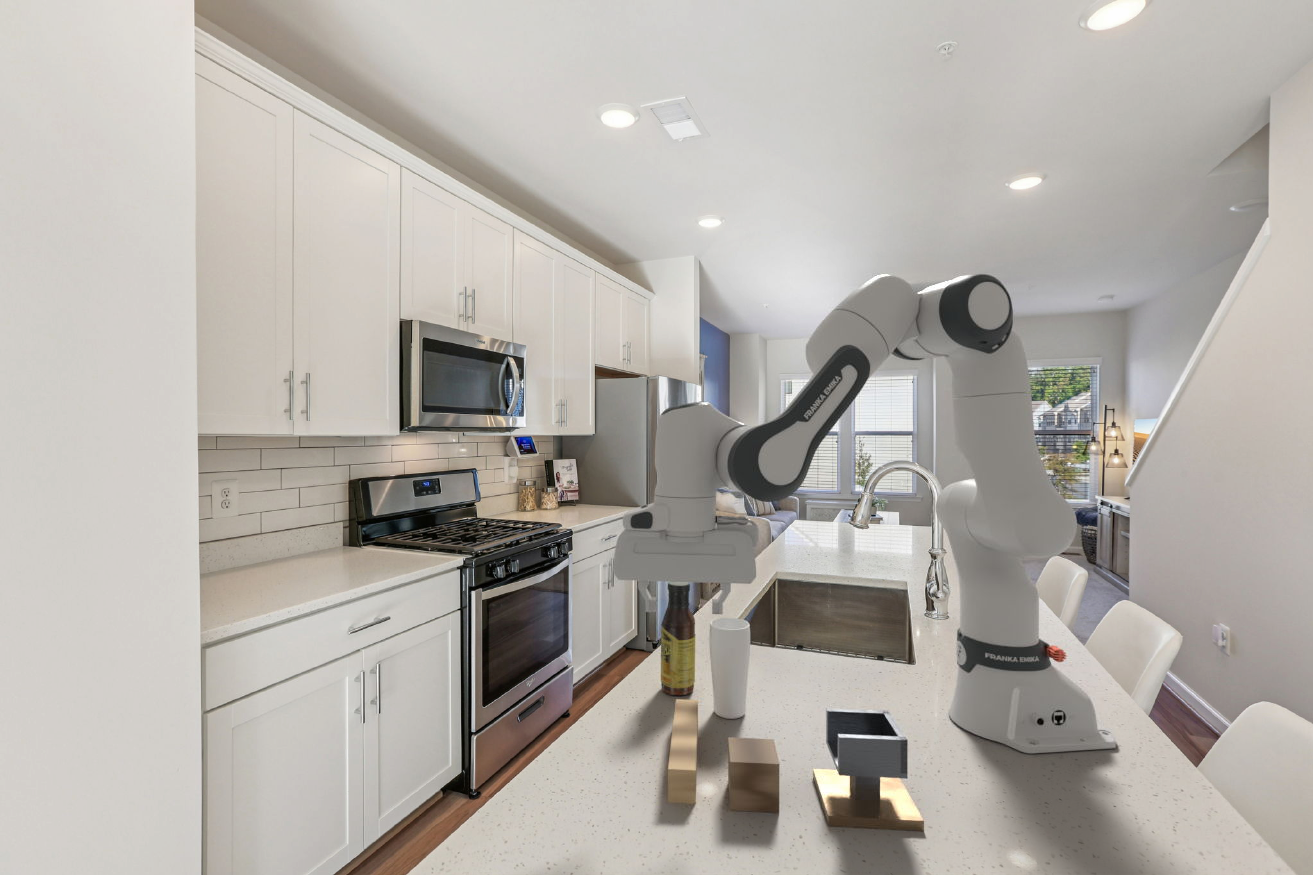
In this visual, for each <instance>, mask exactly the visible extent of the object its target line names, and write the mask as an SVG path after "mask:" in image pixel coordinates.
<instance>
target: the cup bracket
mask: <svg viewBox="0 0 1313 875" xmlns="http://www.w3.org/2000/svg"><path fill="white" fill-rule="evenodd" d="M825 709H826V710H825V711H826V713H825V714H826V715H825V717H826V719H825V726H826V727H825V728H826V729H825V730H826V731H825V738H826V739H825V743H826V746H827V748H828V750H829V753H830V756H831V758H832V761H833V763H834V766H835V768H836V769H827V768H826V769H824V768H823V769H821V768H812V769H813V770H812V778H813V781H814V784H815V788H816V791H817V793H818V794H817V795H818V797H819V801H820V804H821V807H822V811H823V814H824V817H825V820H826V822H827V826H828V827H842V828H857V829H858V828H859V829H861V828H862V829H876V830H877V829H880V830H894V831H895V830H896V831H897V830H898V831H914V832H915V831H916V832H924V831H925V820H924V818H923V816H922V814H921V813H920V811H919V810H918V808H917V806H916V804H915V803H914V801H913V798H912V797H911V796H910V794H909V792H908V790H907V789H906V787H905V785H904V783H903V781H902V780H901V779H904V780H905V779H908V768H909V767H908V760H909V759H908V747H909V746H908V745H909V744H908V738H907V737H906V735H905V734H904V733H903V731H902V730H901V728H900V726H899V725H898V724H897V721H895V719H894V717H893V716H892V715H891V713H890V712H889V710H878V709H877V710H874V709H851V708H848V709H847V708H845V709H844V708H825Z"/></svg>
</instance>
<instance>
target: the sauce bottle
mask: <svg viewBox="0 0 1313 875" xmlns="http://www.w3.org/2000/svg"><path fill="white" fill-rule="evenodd" d="M667 591H668V595H667V596H668V602H667V608H666V610H665V613H664V616H663V619H662V621H661V625H660V626H661V627H660V682H661V690H662V691H663V692H665V693H666V694H668V695H669V696H685V695H689V694H692V692H693V691H694V689H695V688H694V687H695V682H696V679H695V678H696V674H695V673H696V633H695V632H696V619H695V616H694V614H693V612H692V611H691V609H690V602H689V601H690V591H691V582H669V581H667Z"/></svg>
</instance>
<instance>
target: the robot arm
mask: <svg viewBox="0 0 1313 875" xmlns="http://www.w3.org/2000/svg"><path fill="white" fill-rule="evenodd" d="M1013 318H1014V310H1013V304H1012V299H1011V296H1010V294H1009V292H1008V290H1007V289H1006V287H1005V285H1004V284H1003V283H1002V282H1001V281H1000V280H999V279H998V278H997V277H995V276H993V275H990V274H983V273H974V274H966V275H965V274H964V275H961V276H958V277H956V278H954V279H951V280H948V281H944V282H943V281H942V282H941V283H937V284H935V285H930V286H929V287H926V288H925V289H923V290H922V291H919V292H916V290H915V289H914V287H913V286H912V285H911V284H910V283H909V282H907V280H905V279H903V278H901V277H899V276H896V275H893V274H880V275H876V276H874V277H871V279H868V281H865V282H864V283H863V284H862V285H860V286H859V287H858V288H856V289H854V290H853V291H852V292H851V293H850V294H848V295H847V296H846V297H845V298H844V299H843V300H841V302H840V303H838V304H837V305H836V306H835V307H834V308H833V310H831V311H830V312H829V313H828V315H826V316H825V318H824V319H823V320H822V321H821V322H820V323H819V325H818V326H817V327H816V329H815V330H814V331H813V333H812V335H810V337H809V339H808V340H807V343H806V345H805V359H806V362H807V365H808V368H809V369H810V371H811V372H812V376H811V377H810V379H809V380H808V381H807V382H806V384H804V385H803V387H802V388H801V389H800V391H799V392H798V393H797V394H796V395H795V397H794V398H793V399H792V401H791V402H790V403H789V404H788V405H787V406H786V407H785V409H784V410H783V411H782V412H781V413H780V414H779V415H778V416H776V417H775V418H773V419H771V420H769V421H767V422H764V423H761V424H758V425H747V424H746V423H742V422H740V421H738V420H736V419H734V418H732V417H729V416H728V415H726V414H724V413H723V412H721V411H720V410H718V409H717V408H716V407H715V406H714V405H713V404H712V403H710V402H709V401H693V402H689V403H683V404H677V405H672V406H669V407H668V408H666V409H665V410H663V411H662V412H661V414H660V415H659V418H658V421H657V424H656V425H657V426H656V432H655V444H654V467H655V472H656V475H657V476H656V477H657V480H656V485H655V488H654V493H653V494H654V498H653V500H654V501H653V502H652V503H649V504H643V505H642V506H638V507H635V508H633V509H629V510H628V511H627V512H625V513H624V515H623V517H622V526H623V528H624V529H623V530H622V531H621V532H620V534H619V536H618V537H617V540H616V544H615V549H614V556H613V566H612V567H613V568H612V569H613V570H612V571H613V572H612V573H613V574H614V576H615V577H616V578H617V580H619V581H637V584H638V585H637V589H638V590H639V592H640V594H641V595H642V598H643V600H645V612H646V613H657V609H658V607H657V606H658V604H657V603H658V602H657V601H658V597H657V596H652V595H651V593H650V591H649V590H648V588H649V585H650V582H689V583H710V584H720V590H721V593H720V594H719V596H718V598H712V599H711V604H712V606H711V614H712V615H724V614H723V612H724V611H723V610H724V608H723V607H724V606H723V604H724V602H725V601H726V600H727V598H728V597H729V594H730V593H731V591H732V590H731V589H732V588H731V586H732V584H736V585H737V584H741V585H743V584H746V585H749V584H752V583H753V582H754V581H755V580H756V578H757V563H756V555H755V554H756V553H755V547H756V546H757V545H758V543H759V527H758V525H757V524H756V522H755V521H753V520H751V519H749V518H748V517H747V516H726V515H723V516H722V515H717V491H718V489H719V488H727V489H730V490H733V491H735V492H738V493H742V494H745V495H746V496H748V497H750V498H752V499H754V500H756V501H760V502H763V503H775V502H780V501H782V500H785V499H787V498H789V497H790V496H792V495H793V494H794V493H796V492H797V491H798V490H799V489H800V487H801V486H802V485H803V483H804V482H805V479H806V477H807V475H808V472H809V469H810V467H811V464H812V461H813V460H814V459H813V458H814V457H815V453H816V452H817V450H818V448H819V446H820V445H821V443H822V442H823V441H824V440H825V438H826V436H828V434H829V433H830V431H831V430H832V429H833V427H835V425H836V424H837V423H838V421H840V419H841V417H842V416H843V415H844V414H845V413H846V411H847V410H848V408H849V407H850V405H852V403H853V402H854V400H855V399H856V398H857V397H858V395H859V394H860V392H861V391H862V389H863V388H864V386H865V384H866V383H867V381H868V380H869V379H870V378H871V377H872V375H873V374H875V373H876V371H877V370H878V369H879V368H880V367H881V366H882V365H883V363H885V361H886V360H887V359H888V358H889V357H890V356H891V355H893V356H894V357H897V358H899V359H902V360H906V361H922V360H925V359H933V358H941V357H944V358H945V360H946V362H948V365H949V367H950V369H951V373H952V376H951V377H952V378H951V380H952V381H951V386H952V387H951V388H952V390H951V391H952V407H953V411H952V412H953V423H954V438H955V444H956V447H957V450H959V452H960V453H961V454H962V456H964V459H965V460H966V461H967V463H968V465H969V469H970V471H971V473H972V475H973V478H968V479H964V480H959V481H956V482H952V483H950V484H948V485H946V487H944V488H943V489H942V491H940V492H939V493H938V494H939V495H938V496H937V499H936V502H935V503H936V504H935V513H936V514H935V515H936V517H937V520H938V522H939V523H940V524H941V526H942V527H943V529H944V530H945V533H946V535H947V538H948V541H949V545H950V548H951V551H952V556H953V560H954V564H955V568H956V572H957V573H956V574H957V579H958V587H959V628H958V629H957V630H956V631H957V632H956V642H955V643H956V644H955V651H956V652H955V654H956V656H955V657H956V663H957V665H958V666H957V676H956V681H955V682H956V684H955V688H954V693H953V697H952V700H951V703H950V706H949V708H948V716H949V717H950V719H951V721H952V722H954V723H955V724H956V725H957V726H959V727H960V728H962V729H963V730H966V731H968V732H969V733H972V734H974V735H976V736H978V737H982V738H984V739H987V740H991V741H994V742H998V743H1001V744H1003V745H1006V746H1008V747H1010V748H1013V749H1015V750H1017V751H1019V752H1022V753H1025V754H1045V753H1058V752H1073V751H1074V752H1075V751H1090V750H1106V749H1115V748H1116V747H1117V744H1116V737H1115V735H1114V734H1113V733H1112V731H1111V730H1110V729H1109V728H1108V727H1107V726H1106V725H1105V724H1104V723H1102V721H1100V720H1098V719H1097V714H1096V710H1095V706H1094V703H1093V701H1092V699H1091V698H1090V696H1089V695H1088V693H1087V692H1086V691H1085V690H1084V689H1083V688H1082V687H1081V686H1080V685H1078V684H1077V683H1076V682H1074V681H1073V680H1072V679H1071V678H1070V677H1069V676H1067V675H1066V674H1064V673H1063V672H1062V671H1061V670H1059V669H1058V668H1057V667H1055V666H1054V665H1053V664H1052V661H1051V660H1050V658H1051V659H1052V660H1054V661H1055V662H1057V663H1063V662H1064V661H1065V660H1067V652H1065V651H1064V650H1063V649H1061V648H1060V647H1058V646H1056V645H1050V644H1049V643H1048V642H1046V641H1044V640H1042V639H1041V638H1040V596H1039V591H1038V589H1037V586H1036V585H1035V583H1034V582H1033V581H1032V579H1031V578H1030V577H1029V575H1028V573H1027V570H1026V568H1025V567H1024V563H1023V561H1022V558H1025V559H1026V558H1029V559H1030V558H1031V559H1035V558H1036V559H1042V558H1043V559H1044V558H1047V559H1048V558H1052V557H1056V556H1060V555H1061V554H1062V553H1063V552H1065V551H1066V550H1067V549H1068V548H1069V547H1070V546H1071V545H1072V543H1073V542H1074V540H1075V537H1076V534H1077V528H1078V523H1077V522H1078V520H1077V516H1076V513H1075V510H1074V508H1073V507H1072V505H1071V504H1070V502H1069V501H1067V499H1065V498H1064V497H1063V496H1062V494H1060V493H1059V491H1058V490H1057V489H1056V487H1055V486H1054V484H1053V483H1052V480H1051V478H1050V477H1049V474H1048V472H1047V470H1046V468H1045V465H1044V463H1043V460H1042V458H1041V455H1040V453H1039V449H1038V444H1037V440H1036V434H1035V424H1034V413H1033V400H1032V387H1031V378H1030V372H1029V367H1028V366H1029V365H1028V362H1027V360H1028V359H1027V357H1026V352H1025V349H1024V346H1023V343H1022V340H1021V337H1020V336H1019V334H1017V332H1015V331H1014V330H1013V326H1014V325H1013V324H1014V321H1013Z"/></svg>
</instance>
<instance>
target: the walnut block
mask: <svg viewBox="0 0 1313 875" xmlns="http://www.w3.org/2000/svg"><path fill="white" fill-rule="evenodd" d="M727 738H728V740H727V742H728V744H727V745H728V748H727V751H728V752H727V753H728V755H727V759H728V762H727V763H728V766H727V768H728V770H727V776H728V778H727V779H728V780H727V781H728V782H727V783H728V784H727V785H728V796H729V797H728V799H729V811H738V812H739V811H740V812H755V813H756V812H757V813H758V812H759V813H773V814H774V813H776V814H778V813H780V760H779V756H778V752H777V748H776V743H775V739H774V738H754V737H751V738H750V737H733V736H731V737H729V736H728V737H727Z"/></svg>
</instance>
